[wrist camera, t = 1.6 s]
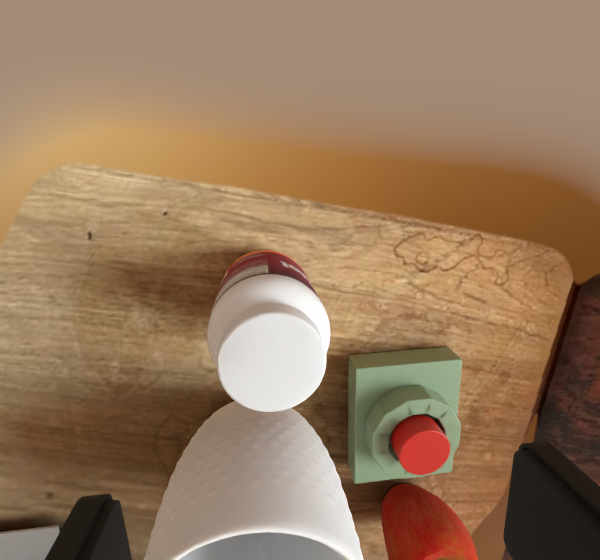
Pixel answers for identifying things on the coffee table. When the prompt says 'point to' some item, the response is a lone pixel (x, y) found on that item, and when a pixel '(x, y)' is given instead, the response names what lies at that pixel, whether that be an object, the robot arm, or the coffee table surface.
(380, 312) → the coffee table surface
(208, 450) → the mug
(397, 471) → the control block
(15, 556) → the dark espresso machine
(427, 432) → the button
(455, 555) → the apple
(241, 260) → the pill bottle
